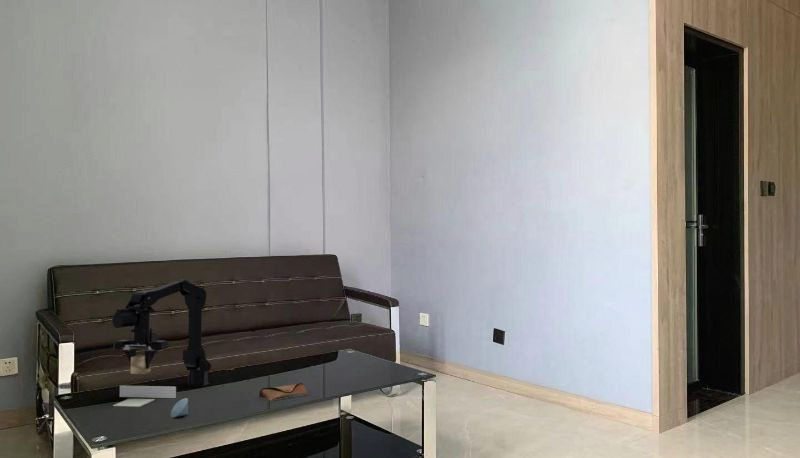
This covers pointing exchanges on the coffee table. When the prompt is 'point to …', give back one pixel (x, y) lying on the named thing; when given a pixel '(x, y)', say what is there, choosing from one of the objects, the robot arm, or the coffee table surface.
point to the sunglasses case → (282, 391)
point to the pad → (134, 402)
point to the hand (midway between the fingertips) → (140, 368)
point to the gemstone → (180, 408)
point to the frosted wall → (148, 391)
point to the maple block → (139, 365)
